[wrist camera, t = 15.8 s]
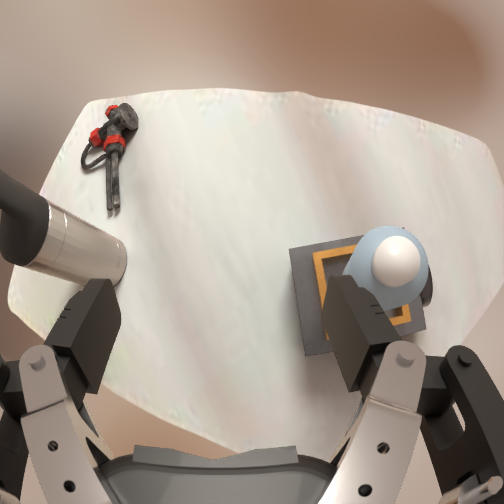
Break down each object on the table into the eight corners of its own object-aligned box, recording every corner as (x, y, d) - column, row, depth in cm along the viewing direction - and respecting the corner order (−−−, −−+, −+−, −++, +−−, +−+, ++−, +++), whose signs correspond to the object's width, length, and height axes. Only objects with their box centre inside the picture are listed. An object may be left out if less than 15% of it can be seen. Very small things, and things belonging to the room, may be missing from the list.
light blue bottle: (340, 321, 29) (365, 314, 15) (331, 271, 31) (346, 225, 17) (388, 310, 28) (445, 293, 15) (378, 262, 30) (423, 211, 16)
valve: (93, 134, 58) (140, 102, 54) (91, 231, 51) (146, 200, 47) (75, 123, 52) (123, 87, 48) (68, 223, 45) (122, 188, 41)
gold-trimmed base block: (306, 352, 35) (304, 358, 27) (292, 261, 38) (287, 243, 31) (419, 327, 32) (444, 325, 25) (401, 240, 36) (420, 219, 28)
